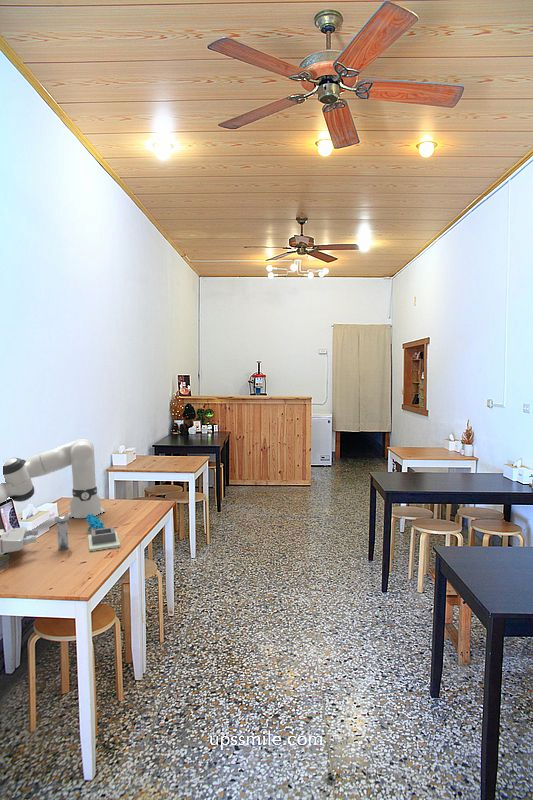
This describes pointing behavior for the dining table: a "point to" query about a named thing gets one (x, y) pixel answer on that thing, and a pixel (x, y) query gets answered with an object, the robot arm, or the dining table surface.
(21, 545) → the robot arm
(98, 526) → the gear
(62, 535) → the pin
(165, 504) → the dining table surface
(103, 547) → the socket board
